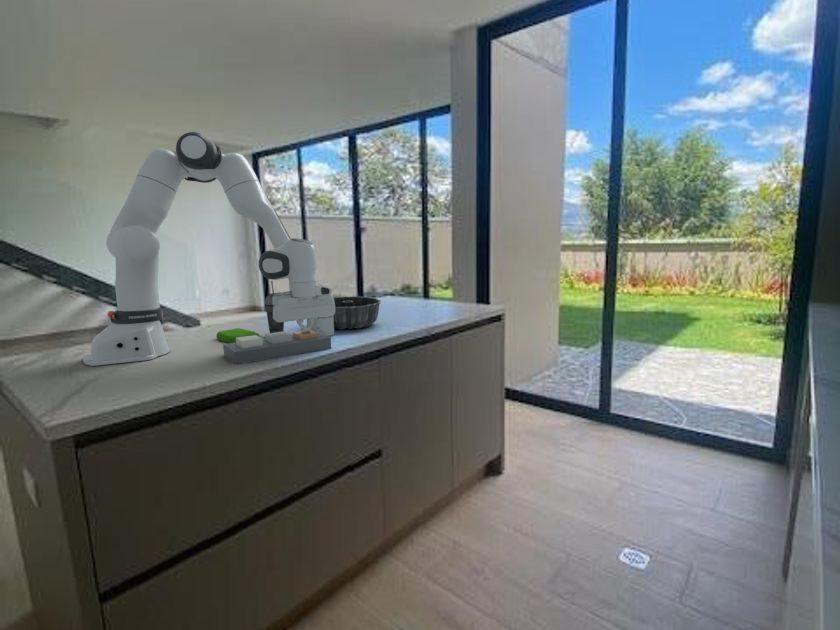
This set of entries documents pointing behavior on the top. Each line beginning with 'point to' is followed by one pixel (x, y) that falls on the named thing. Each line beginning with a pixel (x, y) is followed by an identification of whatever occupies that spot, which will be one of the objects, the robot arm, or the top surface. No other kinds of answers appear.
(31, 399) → the top surface
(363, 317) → the bundt pan
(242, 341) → the ivory key
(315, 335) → the terracotta key
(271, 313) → the beverage cup
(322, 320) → the supplement box
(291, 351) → the keypad
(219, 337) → the green rounded slab
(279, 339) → the grey key
